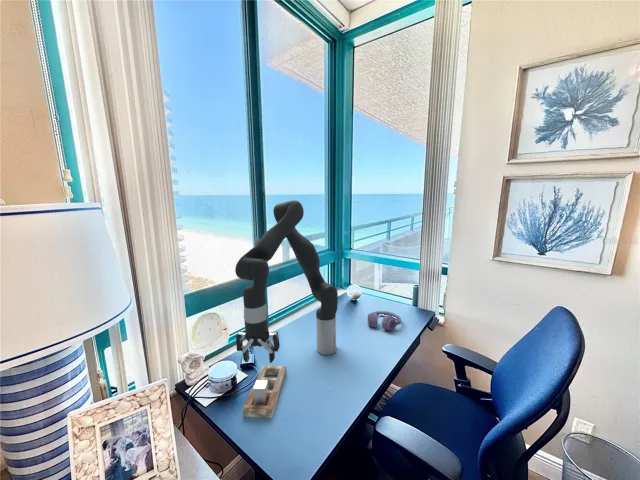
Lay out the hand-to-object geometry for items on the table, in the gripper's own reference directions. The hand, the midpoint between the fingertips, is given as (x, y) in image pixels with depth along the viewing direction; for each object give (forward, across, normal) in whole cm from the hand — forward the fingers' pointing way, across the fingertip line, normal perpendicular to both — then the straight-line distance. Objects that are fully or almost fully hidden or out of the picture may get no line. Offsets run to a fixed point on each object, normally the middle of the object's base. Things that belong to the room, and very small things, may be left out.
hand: (259, 361), depth 89 cm
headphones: (+19, -53, -63) cm, 85 cm away
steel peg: (+18, 0, 0) cm, 18 cm away
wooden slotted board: (+18, 0, -7) cm, 19 cm away
